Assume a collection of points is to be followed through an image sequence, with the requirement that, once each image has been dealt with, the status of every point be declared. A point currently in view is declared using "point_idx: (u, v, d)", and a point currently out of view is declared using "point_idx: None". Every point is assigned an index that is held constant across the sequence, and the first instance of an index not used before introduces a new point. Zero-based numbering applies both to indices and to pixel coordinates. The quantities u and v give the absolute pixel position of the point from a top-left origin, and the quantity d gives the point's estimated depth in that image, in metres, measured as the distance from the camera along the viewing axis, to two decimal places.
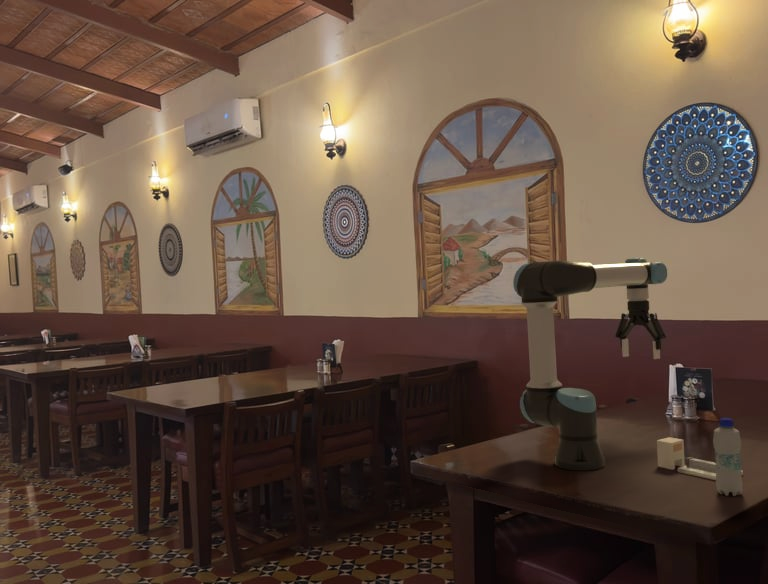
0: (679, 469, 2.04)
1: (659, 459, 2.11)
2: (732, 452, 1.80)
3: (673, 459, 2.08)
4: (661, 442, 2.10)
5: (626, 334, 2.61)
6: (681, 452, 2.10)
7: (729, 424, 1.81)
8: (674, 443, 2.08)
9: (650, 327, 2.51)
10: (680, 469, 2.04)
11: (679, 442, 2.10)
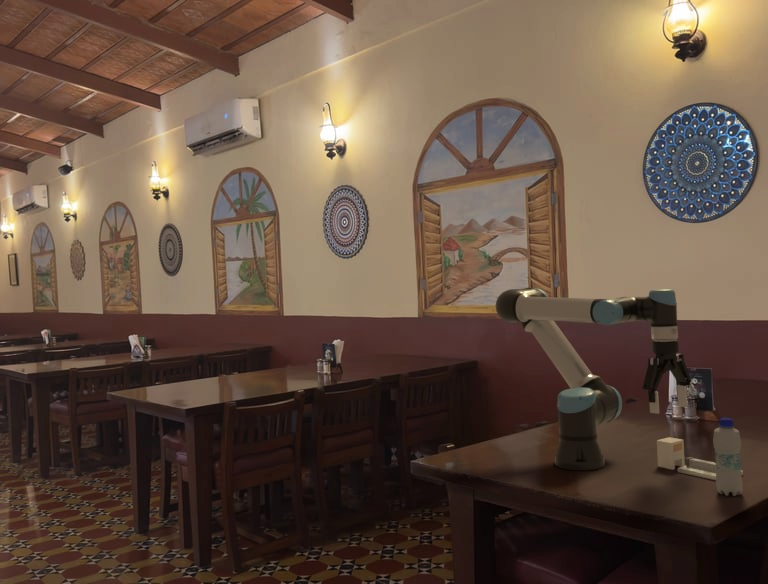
0: (679, 469, 2.04)
1: (659, 459, 2.11)
2: (732, 452, 1.80)
3: (673, 459, 2.08)
4: (661, 442, 2.10)
5: (679, 380, 2.14)
6: (681, 452, 2.10)
7: (729, 424, 1.81)
8: (674, 443, 2.08)
9: (655, 374, 2.09)
10: (680, 469, 2.04)
11: (679, 442, 2.10)
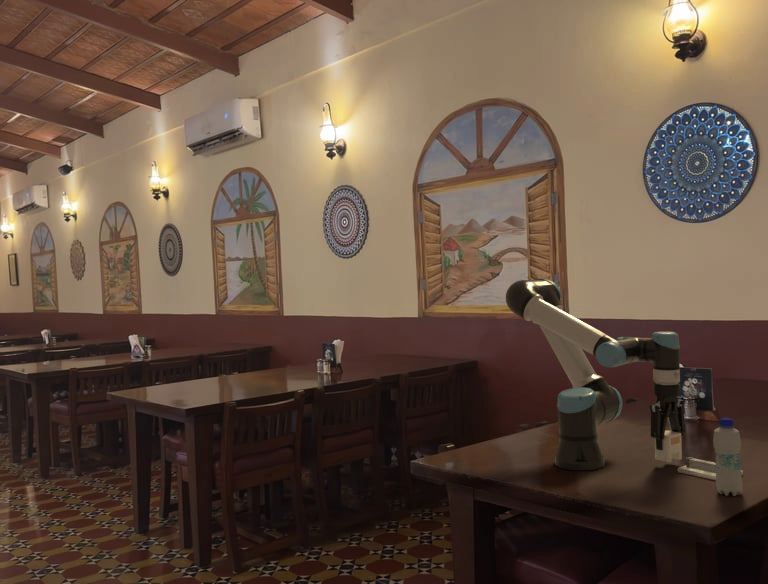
0: (679, 469, 2.04)
1: (656, 452, 2.12)
2: (732, 452, 1.80)
3: (670, 452, 2.08)
4: None
5: (674, 427, 2.13)
6: (678, 445, 2.10)
7: (729, 424, 1.81)
8: (672, 436, 2.09)
9: (659, 420, 2.10)
10: (680, 469, 2.04)
11: (677, 435, 2.10)
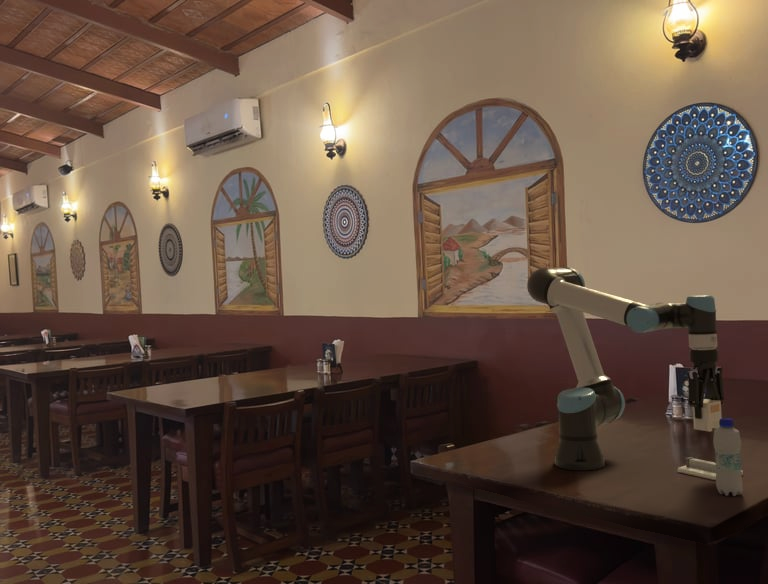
0: (679, 469, 2.04)
1: (695, 421, 2.01)
2: (732, 452, 1.80)
3: (710, 420, 1.98)
4: None
5: (712, 395, 2.03)
6: (718, 414, 2.00)
7: (729, 424, 1.81)
8: (711, 404, 1.98)
9: None
10: (680, 469, 2.04)
11: (716, 403, 2.00)
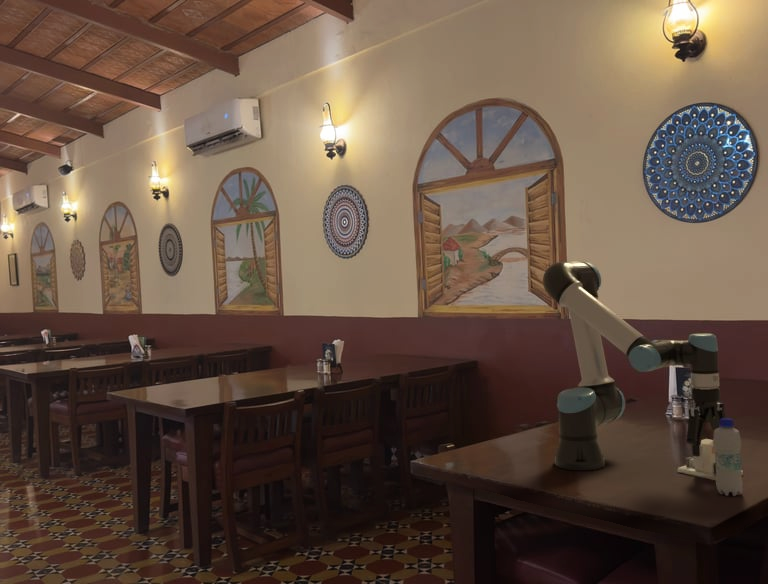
0: (679, 469, 2.04)
1: None
2: (732, 452, 1.80)
3: (712, 462, 1.98)
4: None
5: None
6: None
7: (729, 424, 1.81)
8: (713, 445, 1.99)
9: None
10: (680, 469, 2.04)
11: None
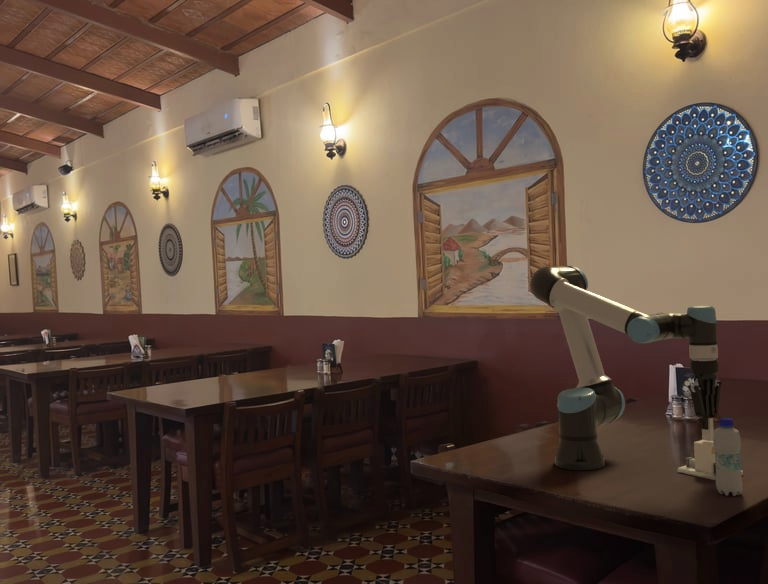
0: (679, 469, 2.04)
1: (696, 462, 2.02)
2: (732, 452, 1.80)
3: (712, 462, 1.98)
4: (699, 444, 2.01)
5: None
6: None
7: (729, 424, 1.81)
8: (713, 445, 1.99)
9: None
10: (680, 469, 2.04)
11: None
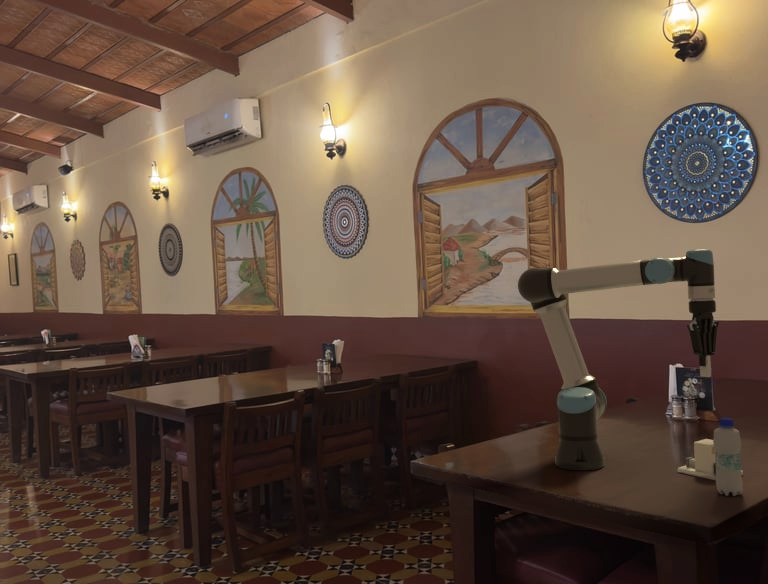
0: (679, 469, 2.04)
1: (696, 462, 2.02)
2: (732, 452, 1.80)
3: (712, 462, 1.98)
4: (699, 444, 2.01)
5: (705, 346, 2.13)
6: None
7: (729, 424, 1.81)
8: (713, 445, 1.99)
9: None
10: (680, 469, 2.04)
11: None
